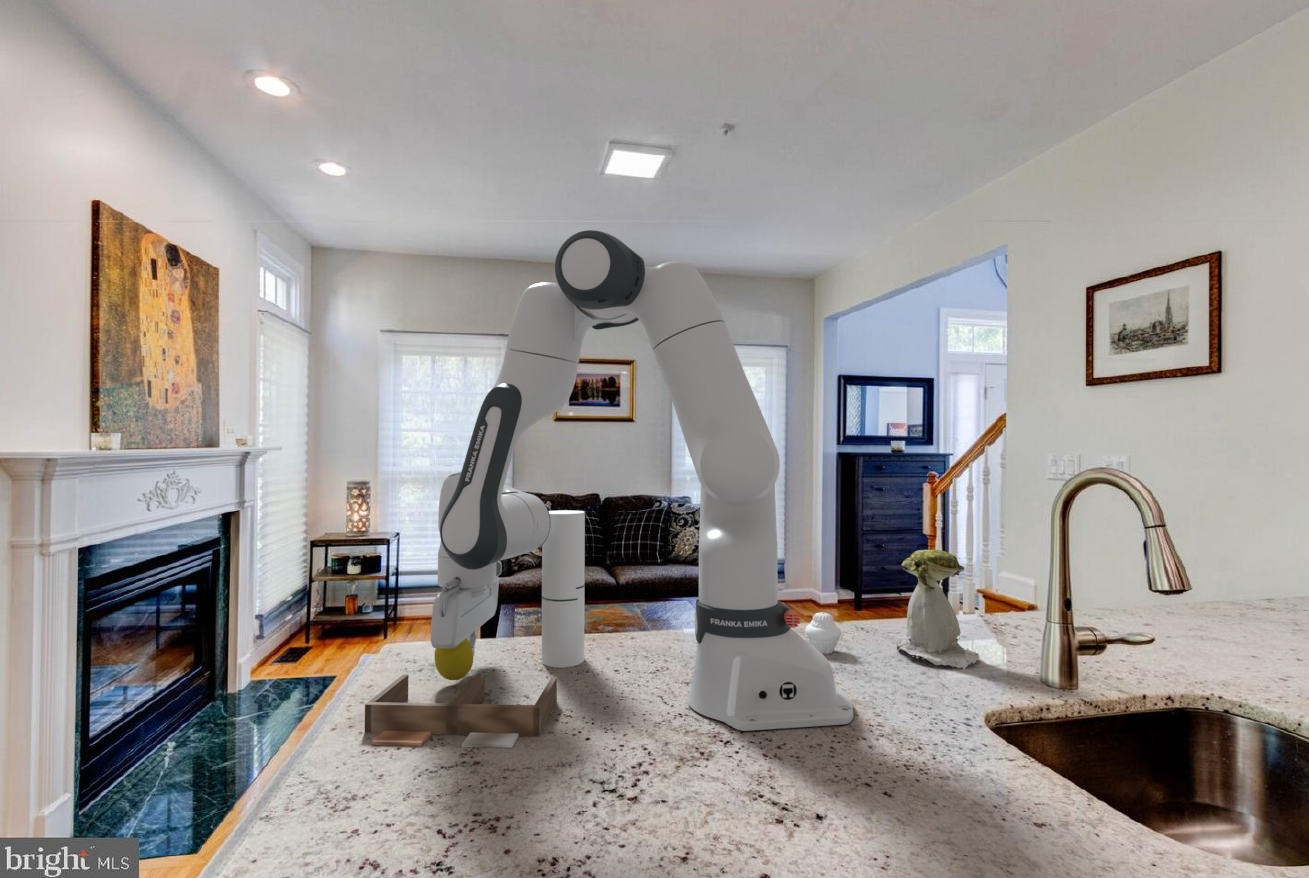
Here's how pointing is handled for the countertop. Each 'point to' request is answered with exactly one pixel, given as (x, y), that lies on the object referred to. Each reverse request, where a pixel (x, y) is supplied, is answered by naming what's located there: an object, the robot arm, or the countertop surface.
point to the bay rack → (455, 716)
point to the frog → (934, 611)
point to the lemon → (454, 661)
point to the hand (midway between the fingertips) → (465, 659)
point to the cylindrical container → (563, 590)
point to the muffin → (823, 632)
